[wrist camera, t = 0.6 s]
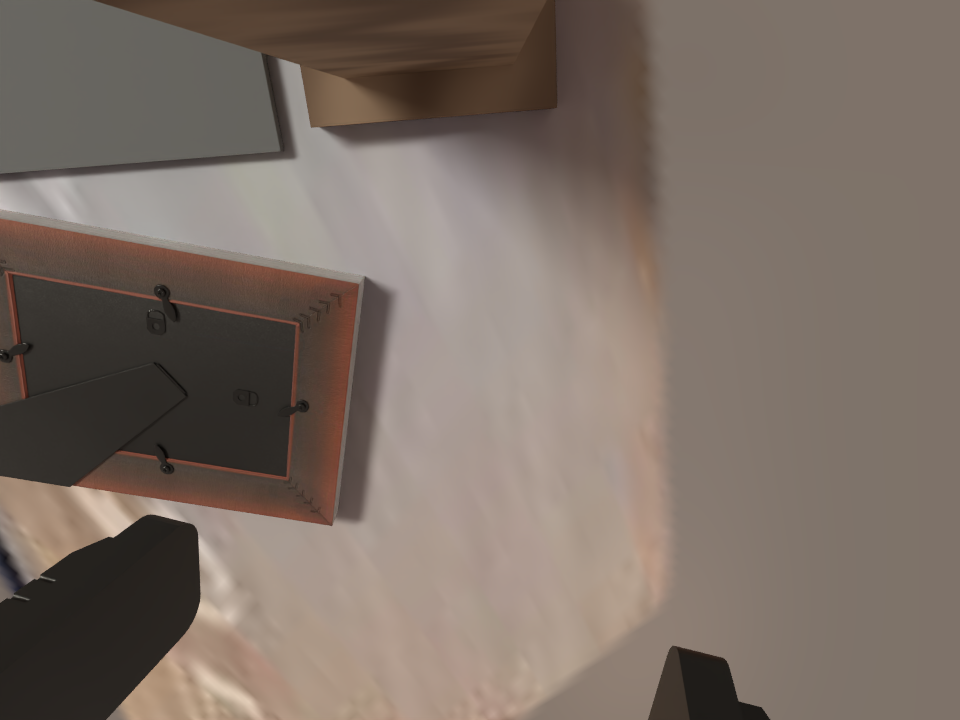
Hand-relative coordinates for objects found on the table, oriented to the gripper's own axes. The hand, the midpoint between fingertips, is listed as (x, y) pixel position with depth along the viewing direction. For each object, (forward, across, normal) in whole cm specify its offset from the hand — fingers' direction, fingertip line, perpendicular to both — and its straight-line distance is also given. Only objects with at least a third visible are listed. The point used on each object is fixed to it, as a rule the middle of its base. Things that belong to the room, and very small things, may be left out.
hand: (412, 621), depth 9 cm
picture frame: (+22, +22, +7) cm, 32 cm away
